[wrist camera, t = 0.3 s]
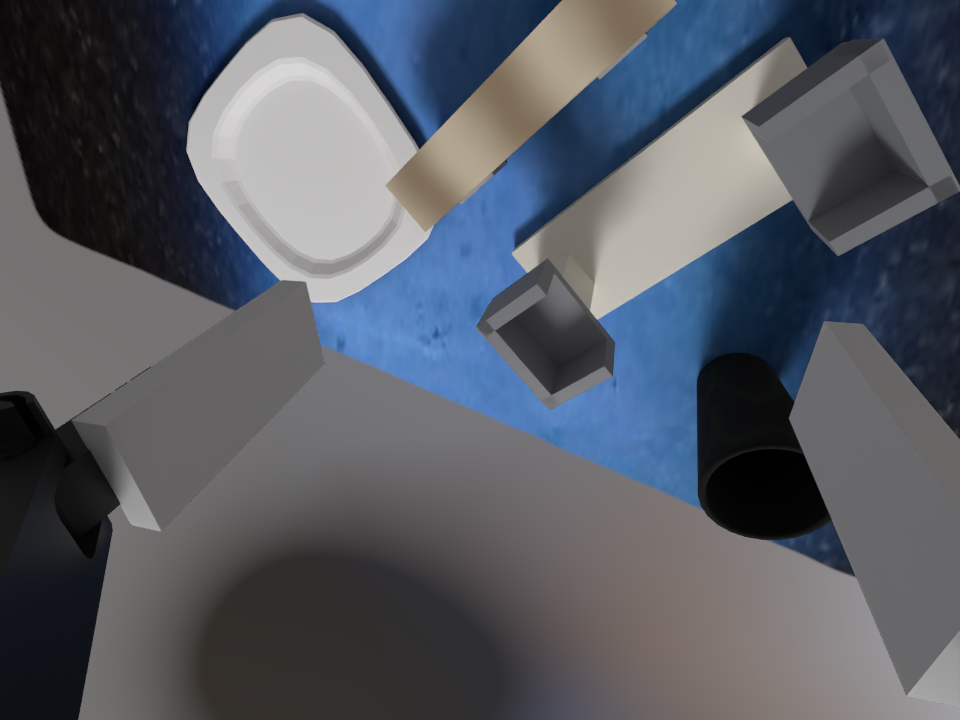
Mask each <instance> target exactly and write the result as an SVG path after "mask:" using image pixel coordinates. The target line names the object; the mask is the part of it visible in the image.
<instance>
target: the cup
mask: <svg viewBox="0 0 960 720" xmlns="http://www.w3.org/2000/svg"><path fill="white" fill-rule="evenodd" d="M793 406H794V401H793V399H792V398H791V396H790V395H789V393H788V392H787V390H786V389H785V387H784V386H783V384H782V383H781V381H780V380H779V378H778V377H777V375H776V374H775V372H774V371H773V369H772V368H771V366H770V365H769V364H768V363H767V362H766V361H764V360H762V359H761V358H759V357H757V356H754V355H750V354H744V353H734V354H727V355H724V356H720V357H718V358H716V359H714V360H712V361H711V362H710V363H708V364H707V365H706V366H705V367H704V368H703V370H702V371H701V372H700V374H699V377H698V379H697V452H698V497H699V501H700V504H701V507H702V508H703V510H704V511H705V513H706V514H707V516H708V517H710V518H711V519H712V520H713V521H714V522H715V523H716V524H717V525H719V526H721V527H723V528H725V529H727V530H728V531H730V532H733V533H736V534H739V535H742V536H744V537H749V538H755V539H761V540H781V539H789V538H795V537H799V536H802V535H805V534H809V533H811V532H813V531H815V530H817V529H819V528H821V527H823V526H824V525H826V524H827V523H828V522H829V521H830V520H832V519H831V517H830V514H829V512H828V509H827V507H826V505H825V502H824V500H823V498H822V495H821V493H820V491H819V488H818V486H817V483H816V481H815V479H814V476H813V474H812V472H811V469H810V467H809V465H808V462H807V460H806V457H805V455H804V453H803V450H802V448H801V446H800V443H799V441H798V439H797V436H796V434H795V432H794V429H793V427H792V424H791V422H790V420H789V417H790V414H791V411H792V408H793Z"/></svg>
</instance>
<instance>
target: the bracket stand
mask: <svg viewBox="0 0 960 720" xmlns="http://www.w3.org/2000/svg"><path fill="white" fill-rule="evenodd" d="M959 191H960V186H959V184H958V182H957V180H956V178H955V176H954V174H953V172H952V170H951V168H950V166H949V164H948V162H947V160H946V158H945V157H944V155H943V153H942V151H941V149H940V147H939V145H938V143H937V141H936V139H935V137H934V135H933V133H932V131H931V129H930V127H929V125H928V124H927V122H926V120H925V118H924V116H923V114H922V112H921V110H920V108H919V106H918V104H917V102H916V100H915V98H914V96H913V94H912V92H911V91H910V89H909V87H908V85H907V83H906V81H905V79H904V77H903V75H902V73H901V71H900V69H899V67H898V65H897V63H896V61H895V60H894V58H893V56H892V54H891V52H890V50H889V48H888V46H887V44H886V42H885V40H884V38H881V39H862V40H851V41H850V42H842V43H841V44H839V45H838V46H837V47H835V48H834V49H833V50H831V51H830V52H829V53H827V54H826V55H824V56H823V57H822V58H820V59H819V60H818V61H816V62H815V63H814V64H812V65H811V66H809V67H808V68H807V66H806V64H805V63H804V61H803V59H802V57H801V56H800V54H799V52H798V50H797V49H796V47H795V45H794V43H793V42H792V40H791V38H790V37H787V38H784V39H782V40H781V41H780V42H778V43H777V44H776V45H775V46H773V47H772V48H771V49H769V50H768V51H767V52H766V53H764V54H763V55H762V56H760V57H759V58H758V59H757V60H755V61H754V62H753V63H751V64H750V65H749V66H748V67H746V68H745V69H744V70H742V71H741V72H740V73H739V74H737V75H736V76H735V77H734V78H732V79H731V80H730V81H728V82H727V83H726V84H725V85H723V86H722V87H721V88H719V89H718V90H717V91H716V92H714V93H713V94H712V95H710V96H709V97H708V98H707V99H705V100H704V101H703V102H701V103H700V104H699V105H698V106H696V107H695V108H694V109H692V110H691V111H690V112H689V113H687V114H686V115H685V116H683V117H682V118H681V119H680V120H678V121H677V122H676V123H674V124H673V125H672V126H671V127H669V128H668V129H667V130H665V131H664V132H663V133H662V134H660V135H659V136H658V137H656V138H655V139H654V140H653V141H651V142H650V143H649V144H647V145H646V146H645V147H644V148H642V149H641V150H640V151H639V152H637V153H636V154H635V155H633V156H632V157H631V158H630V159H628V160H627V161H626V162H624V163H623V164H622V165H621V166H619V167H618V168H617V169H615V170H614V171H613V172H612V173H610V174H609V175H608V176H606V177H605V178H604V179H603V180H601V181H600V182H599V183H597V184H596V185H595V186H594V187H592V188H591V189H590V190H588V191H587V192H586V193H585V194H583V195H582V196H581V197H579V198H578V199H577V200H576V201H574V202H573V203H572V204H570V205H569V206H568V207H567V208H565V209H564V210H563V211H561V212H560V213H559V214H558V215H556V216H555V217H554V218H552V219H551V220H550V221H549V222H547V223H546V224H545V225H544V226H542V227H541V228H540V229H538V230H537V231H536V232H535V233H533V234H532V235H531V236H529V237H528V238H527V239H526V240H524V241H523V242H522V243H520V244H519V245H518V246H517V247H515V248H514V250H513V251H512V253H511V254H512V255H513V256H514V257H515V259H516V260H517V261H518V262H519V263H520V265H521V266H522V267H523V268H524V270H525V271H526V272H527V274H525V275H524V276H523V277H521V278H520V279H519V280H517V281H516V282H515V283H513V284H512V285H510V286H509V287H508V288H506V289H505V290H504V291H502V292H501V293H500V294H498V295H497V296H495V297H494V298H493V299H492V301H491V303H490V304H489V305H488V307H487V309H486V310H485V312H484V314H483V316H482V317H481V319H480V321H479V323H478V324H477V326H476V328H477V329H478V331H479V332H480V333H481V334H482V335H483V336H484V337H485V339H486V340H487V341H488V342H489V343H490V344H491V345H492V346H493V348H494V349H495V350H496V351H497V352H498V353H499V354H500V355H501V357H502V358H503V359H504V360H505V361H506V362H507V363H508V365H509V366H510V367H511V368H512V369H513V370H514V371H515V372H516V374H517V375H518V376H519V377H520V378H521V379H522V380H523V382H524V383H525V384H526V385H527V386H528V387H529V388H530V389H531V391H532V392H533V393H534V394H535V395H536V396H537V397H538V399H539V400H540V401H541V402H542V403H543V404H544V405H545V406H546V408H547V409H548V410H551V409H553V408H555V407H557V406H559V405H560V404H562V403H564V402H566V401H568V400H570V399H572V398H573V397H575V396H577V395H579V394H581V393H583V392H585V391H587V390H588V389H590V388H592V387H594V386H596V385H598V384H600V383H602V382H603V381H605V380H607V379H609V378H611V377H613V365H614V350H615V342H614V340H613V339H612V338H611V337H610V335H609V334H608V333H607V332H606V330H605V329H604V328H603V327H602V325H601V324H600V323H599V322H598V319H599V318H601V317H602V316H604V315H606V314H607V313H609V312H611V311H612V310H614V309H615V308H617V307H619V306H620V305H622V304H624V303H625V302H627V301H629V300H630V299H632V298H633V297H635V296H637V295H638V294H640V293H642V292H643V291H645V290H646V289H648V288H650V287H651V286H653V285H655V284H656V283H658V282H659V281H661V280H663V279H664V278H666V277H668V276H669V275H671V274H673V273H674V272H676V271H677V270H679V269H681V268H682V267H684V266H686V265H687V264H689V263H690V262H692V261H694V260H695V259H697V258H699V257H700V256H702V255H704V254H705V253H707V252H708V251H710V250H712V249H713V248H715V247H717V246H718V245H720V244H721V243H723V242H725V241H726V240H728V239H730V238H731V237H733V236H734V235H736V234H738V233H739V232H741V231H743V230H744V229H746V228H748V227H749V226H751V225H752V224H754V223H756V222H757V221H759V220H761V219H762V218H764V217H765V216H767V215H769V214H770V213H772V212H774V211H775V210H777V209H778V208H780V207H782V206H783V205H785V204H787V203H788V202H790V201H792V200H793V201H794V202H795V204H796V205H797V207H798V209H799V210H800V212H801V213H802V215H803V217H804V218H805V220H806V221H807V223H808V225H809V226H810V228H811V229H812V230H813V231H814V233H815V234H816V235H817V236H818V237H819V238H820V239H821V240H822V241H823V242H824V243H825V244H826V245H827V246H828V247H829V248H830V249H831V250H832V251H833V252H834V253H835V254H836V255H837V256H839V255H841V254H843V253H845V252H847V251H849V250H850V249H852V248H854V247H856V246H858V245H860V244H862V243H863V242H865V241H867V240H869V239H871V238H873V237H875V236H877V235H878V234H880V233H882V232H884V231H886V230H888V229H890V228H892V227H893V226H895V225H897V224H899V223H901V222H903V221H905V220H907V219H908V218H910V217H912V216H914V215H916V214H918V213H920V212H922V211H923V210H925V209H927V208H929V207H931V206H933V205H935V204H936V203H938V202H940V201H942V200H944V199H946V198H948V197H950V196H951V195H953V194H955V193H957V192H959Z"/></svg>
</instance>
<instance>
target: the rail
mask: <svg viewBox="0 0 960 720" xmlns="http://www.w3.org/2000/svg"><path fill="white" fill-rule="evenodd" d="M676 4H677V3H676V2H675V0H562V1H561V2H560V3H559V4H558V5H557V6H556V7H555V8H554V9H553V10H552V11H551V12H550V14H549V15H548V16H547V17H546V18H545V19H544V20H543V21H542V22H541V23H540V24H539V25H538V26H537V27H536V28H535V29H534V30H533V31H532V32H531V33H530V34H529V35H528V37H527V38H526V39H525V40H524V41H523V42H522V43H521V44H520V45H519V46H518V47H517V48H516V49H515V50H514V51H513V52H512V53H511V54H510V55H509V56H508V57H507V59H506V60H505V61H504V62H503V63H502V64H501V65H500V66H499V67H498V68H497V69H496V70H495V71H494V72H493V73H492V74H491V75H490V76H489V77H488V78H487V79H486V80H485V82H484V83H483V84H482V85H481V86H480V87H479V88H478V89H477V90H476V91H475V92H474V93H473V94H472V95H471V96H470V97H469V98H468V99H467V100H466V101H465V102H464V104H463V105H462V106H461V107H460V108H459V109H458V110H457V111H456V112H455V113H454V114H453V115H452V116H451V117H450V118H449V119H448V120H447V121H446V122H445V123H444V124H443V125H442V127H441V128H440V129H439V130H438V131H437V132H436V133H435V134H434V135H433V136H432V137H431V138H430V139H429V140H428V141H427V142H426V143H425V144H424V145H423V146H422V147H421V149H420V150H419V151H418V152H417V153H416V154H415V155H414V156H413V157H412V158H411V159H410V160H409V161H408V162H407V163H406V164H405V165H404V166H403V167H402V168H401V169H400V170H399V172H398V173H397V174H396V175H395V176H394V177H393V178H392V179H391V180H390V181H389V182H388V183H387V184H386V185H385V186H386V187H387V188H388V189H389V191H390V192H391V193H392V194H393V195H394V196H395V198H396V199H397V200H398V201H399V202H400V203H401V205H402V206H403V207H404V208H405V209H406V210H407V212H408V213H409V214H410V215H411V216H412V217H413V218H414V220H415V221H416V222H417V223H418V224H419V225H420V227H421V228H422V229H423V230H424V231H425V232H426V231H427V230H429V229H430V228H431V227H432V226H433V225H434V224H435V223H437V222H438V221H439V220H440V219H441V218H442V217H444V216H445V215H446V214H447V213H448V212H449V211H450V210H451V209H452V208H453V207H455V206H456V205H457V204H458V203H459V202H460V201H461V200H462V199H463V198H464V197H466V196H467V195H468V194H469V193H470V192H471V191H472V190H473V189H474V188H475V187H477V186H478V185H479V184H480V183H481V182H482V181H483V180H484V179H485V178H486V177H488V176H489V175H490V174H491V173H492V172H493V171H494V170H495V169H496V168H497V167H499V166H500V165H501V164H502V163H503V162H504V161H505V160H506V159H507V158H508V157H510V156H511V155H512V154H513V153H514V152H515V151H516V150H517V149H518V148H519V147H521V146H522V145H523V144H524V143H525V142H526V141H527V140H528V139H529V138H530V137H532V136H533V135H534V134H535V133H536V132H537V131H538V130H539V129H540V128H541V127H543V126H544V125H545V124H546V123H547V122H548V121H549V120H550V119H551V118H552V117H554V116H555V115H556V114H557V113H558V112H559V111H560V110H561V109H562V108H563V107H565V106H566V105H567V104H568V103H569V102H570V101H571V100H572V99H573V98H574V97H576V96H577V95H578V94H579V93H580V92H581V91H582V90H583V89H584V88H585V87H587V86H588V85H589V84H590V83H591V82H592V81H593V80H594V79H595V78H596V77H598V76H599V75H600V74H601V73H602V72H603V71H604V70H605V69H606V68H607V67H609V66H610V65H611V64H612V63H613V62H614V61H615V60H616V59H617V58H618V57H620V56H621V55H622V54H623V53H624V52H625V51H626V50H627V49H628V48H629V47H631V46H632V45H633V44H634V43H635V42H636V41H637V40H638V39H639V38H640V37H642V36H643V35H644V34H645V33H646V32H647V31H648V30H649V29H650V28H651V27H653V26H654V25H655V24H656V23H657V22H658V21H659V20H660V19H661V18H662V17H664V16H665V15H666V14H667V13H668V12H669V11H670V10H671V9H672V8H673V7H674V6H675V5H676Z"/></svg>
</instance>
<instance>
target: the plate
mask: <svg viewBox="0 0 960 720" xmlns="http://www.w3.org/2000/svg"><path fill="white" fill-rule="evenodd" d="M419 150H420V149H419V147H418V145H417V143H416V141H415V140H414V138H413V137H412V135H411V134H410V132H409V131H408V129H407V128H406V126H405V124H404V123H403V121H402V120H401V118H400V117H399V115H398V114H397V112H396V111H395V109H394V108H393V106H392V105H391V103H390V102H389V100H388V99H387V97H386V96H385V95H384V93H383V92H382V90H381V89H380V87H379V86H378V84H377V83H376V82H375V80H374V79H373V77H372V76H371V74H370V73H369V71H368V70H367V69H366V67H365V66H364V65H363V63H362V62H361V61H360V60H359V59H358V58H357V56H356V55H355V54H354V53H353V52H352V50H351V49H350V48H349V47H348V46H347V45H346V43H345V42H344V41H343V40H342V39H341V37H340V36H339V35H338V34H337V33H336V32H335V31H334V30H332V29H330V28H329V27H327V26H325V25H323V24H322V23H320V22H318V21H316V20H315V19H313V18H311V17H310V16H308V15H306V14H304V13H300V14H295V15H290V16H285V17H280V18H275V19H272V20H271V21H269V22H268V23H267V24H266V25H265V26H264V27H263V28H262V29H260V30H259V31H258V32H257V33H256V34H255V35H254V36H252V37H251V38H250V39H249V40H248V41H247V42H246V43H245V44H244V45H243V46H242V48H241V49H240V50H239V51H238V52H237V54H236V55H235V56H234V57H233V58H232V60H231V61H230V62H229V63H228V64H227V66H226V67H225V68H224V69H223V71H222V72H221V73H220V74H219V76H218V77H217V78H216V80H215V81H214V82H213V84H212V85H211V86H210V87H209V89H208V90H207V91H206V93H205V94H204V95H203V97H202V99H201V101H200V103H199V104H198V106H197V108H196V110H195V112H194V113H193V115H192V117H191V119H190V121H189V127H188V137H187V148H186V151H187V154H188V156H189V159H190V161H191V164H192V166H193V169H194V172H195V174H196V177H197V179H198V181H199V183H200V184H201V186H202V187H203V189H204V190H205V191H206V193H207V194H208V196H209V197H210V198H211V200H212V201H213V203H214V204H215V206H216V207H217V208H218V210H219V211H220V212H221V214H222V215H223V216H224V217H225V219H226V220H227V221H228V222H229V223H230V225H231V226H232V227H233V228H234V229H235V231H236V232H237V233H238V234H239V236H240V237H241V238H242V239H243V240H244V241H245V243H246V244H247V245H248V246H249V247H250V248H251V250H252V251H253V252H254V253H255V254H256V255H257V256H258V258H259V259H260V260H261V261H262V262H263V263H264V265H265V266H266V267H267V268H268V269H269V270H270V271H271V272H272V273H273V274H274V275H275V276H276V277H277V278H278V279H279V280H280V281H282V280H290V281H304V282H306V284H307V288H308V292H309V297H310V301H311V302H337V301H339V300H342V299H344V298H346V297H348V296H350V295H352V294H354V293H356V292H359V291H360V290H362V289H363V288H365V287H366V286H368V285H369V284H371V283H372V282H374V281H375V280H377V279H378V278H380V277H381V276H383V275H384V274H386V273H387V272H389V271H390V270H391V269H393V268H394V267H396V266H397V265H398V264H400V263H401V262H403V261H404V260H405V259H407V258H408V257H409V256H410V255H411V254H412V253H413V252H414V251H415V250H416V249H417V248H418V247H419V246H421V245H422V244H423V243H424V242H425V241H426V240H427V239H428V238H429V236H430V234H431V231H432V229H433V227H434V225H433V226H432V227H431V228H430V229H429V230H427V231H426V232H425V231H424V230H423V229H422V228H421V227H420V225H419V224H418V223H417V222H416V221H415V220H414V218H413V217H412V216H411V215H410V214H409V213H408V212H407V210H406V209H405V208H404V207H403V206H402V205H401V203H400V202H399V201H398V200H397V199H396V198H395V196H394V195H393V194H392V193H391V192H390V191H389V189H388V188H387V187H386V186H385V185H386V184H387V183H388V182H389V181H390V180H391V179H392V178H393V177H394V176H395V175H396V174H397V173H398V172H399V170H400V169H401V168H402V167H403V166H404V165H405V164H406V163H407V162H408V161H409V160H410V159H411V158H412V157H413V156H414V155H415V154H416V153H417V152H418V151H419Z"/></svg>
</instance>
